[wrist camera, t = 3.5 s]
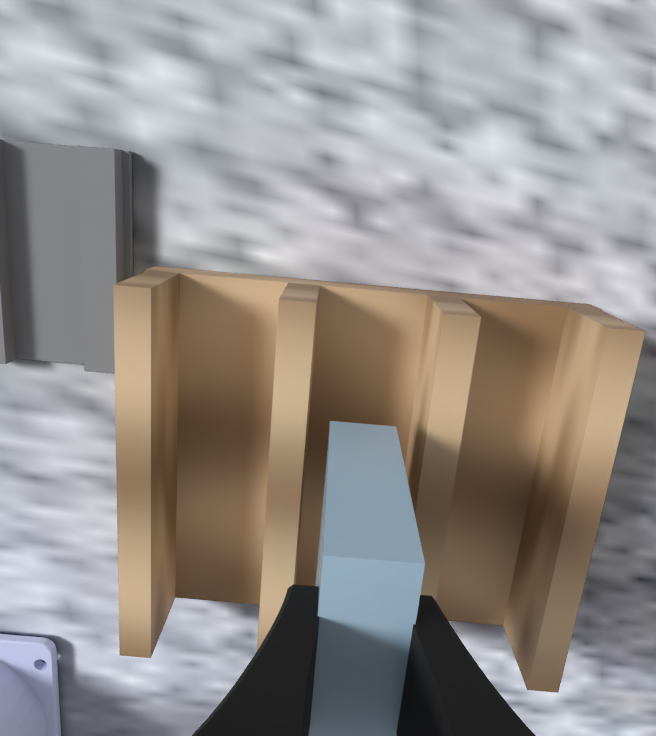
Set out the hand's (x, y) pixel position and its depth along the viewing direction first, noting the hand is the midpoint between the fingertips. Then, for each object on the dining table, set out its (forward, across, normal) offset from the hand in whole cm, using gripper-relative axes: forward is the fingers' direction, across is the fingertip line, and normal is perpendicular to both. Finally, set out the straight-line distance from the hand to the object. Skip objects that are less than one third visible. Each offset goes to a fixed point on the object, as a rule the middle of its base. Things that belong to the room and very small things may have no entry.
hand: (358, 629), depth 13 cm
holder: (+9, +10, -6) cm, 15 cm away
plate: (+5, 0, 0) cm, 5 cm away
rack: (+9, 0, 0) cm, 9 cm away
